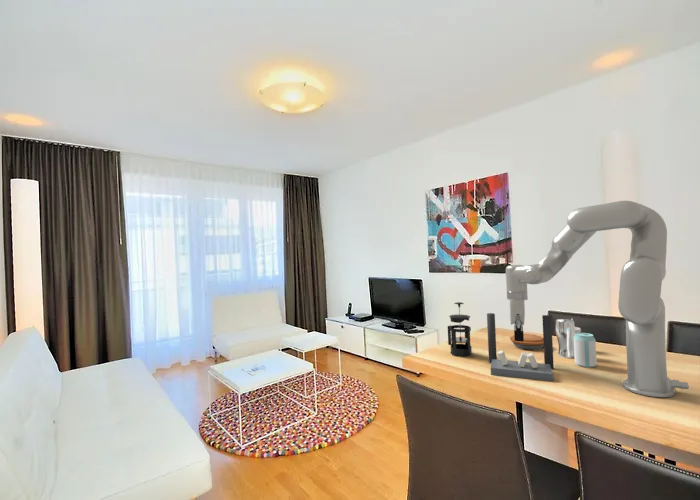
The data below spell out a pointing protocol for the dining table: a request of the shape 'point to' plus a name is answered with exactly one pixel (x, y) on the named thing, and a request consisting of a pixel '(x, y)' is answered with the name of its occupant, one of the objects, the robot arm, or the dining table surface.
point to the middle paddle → (522, 359)
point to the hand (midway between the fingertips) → (519, 338)
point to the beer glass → (565, 337)
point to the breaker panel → (522, 370)
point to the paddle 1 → (502, 357)
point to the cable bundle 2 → (548, 340)
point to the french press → (460, 349)
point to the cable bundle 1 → (491, 336)
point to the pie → (529, 342)
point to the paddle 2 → (532, 360)
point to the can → (585, 350)
